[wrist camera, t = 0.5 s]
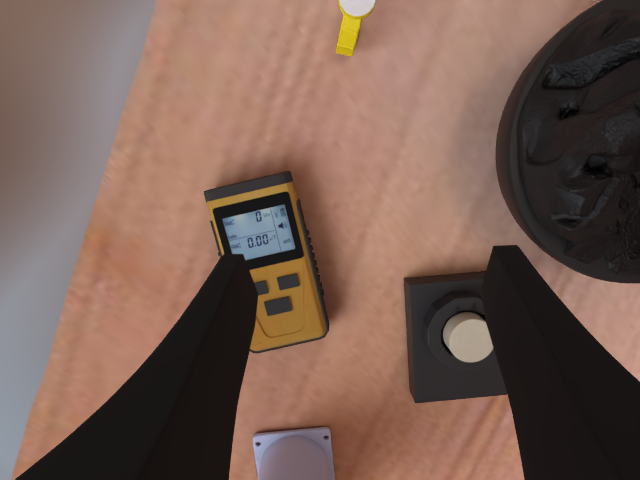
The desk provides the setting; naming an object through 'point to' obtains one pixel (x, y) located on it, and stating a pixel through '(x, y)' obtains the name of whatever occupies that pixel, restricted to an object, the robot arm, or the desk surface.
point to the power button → (467, 337)
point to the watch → (352, 23)
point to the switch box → (428, 344)
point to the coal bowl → (579, 144)
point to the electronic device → (272, 258)
